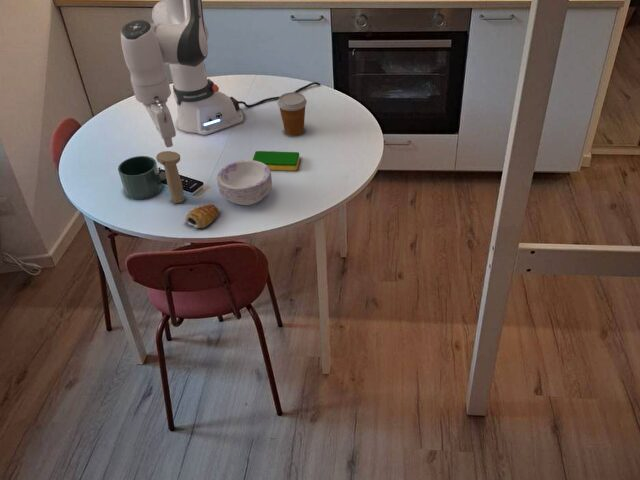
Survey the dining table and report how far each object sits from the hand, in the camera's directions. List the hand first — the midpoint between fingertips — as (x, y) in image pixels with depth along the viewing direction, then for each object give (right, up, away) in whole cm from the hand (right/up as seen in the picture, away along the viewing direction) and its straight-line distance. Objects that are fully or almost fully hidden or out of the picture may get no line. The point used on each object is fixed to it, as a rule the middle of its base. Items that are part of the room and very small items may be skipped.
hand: (164, 137), depth 164 cm
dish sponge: (+27, -3, +28) cm, 39 cm away
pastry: (+8, -22, +7) cm, 24 cm away
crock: (-12, -12, +18) cm, 25 cm away
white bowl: (+20, -14, +15) cm, 29 cm away
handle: (0, -16, +14) cm, 21 cm away
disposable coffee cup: (+31, +11, +43) cm, 54 cm away
